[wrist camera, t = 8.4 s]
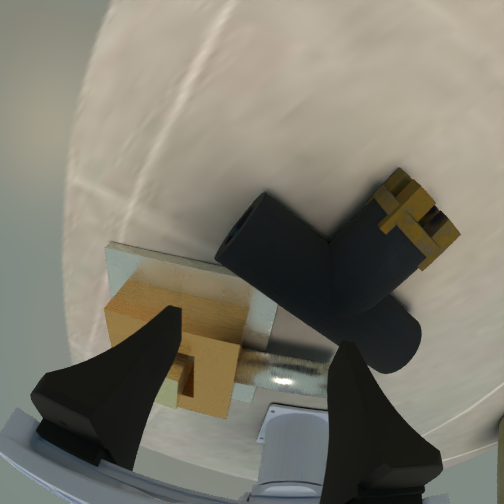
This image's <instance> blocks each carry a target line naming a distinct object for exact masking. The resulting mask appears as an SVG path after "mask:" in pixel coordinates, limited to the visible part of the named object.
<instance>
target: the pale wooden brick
mask: <svg viewBox="0 0 504 504" xmlns="http://www.w3.org/2000/svg"><path fill="white" fill-rule="evenodd" d="M194 359H195V357H194V356H190V355H186V354H182V353H178V352H177V355H176V358H175V360H174V362H173V364H172V366H171V368H170V370H169V372H168V374H167V376H166V378H165V380H164V382H163V384H162V386H161V388H160V390H159V392H158V394H157V396H156V398H155V400H154V402H156V403H159V404H162V405H164V406H167V407H170V408H174V409H177V406H178V403H179V401H180V398H181V395H182V393H183V390H184V388H185V385H186V382H187V380H188V377H189V374H190V372H191V369H192V367H193V364H194Z"/></svg>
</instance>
